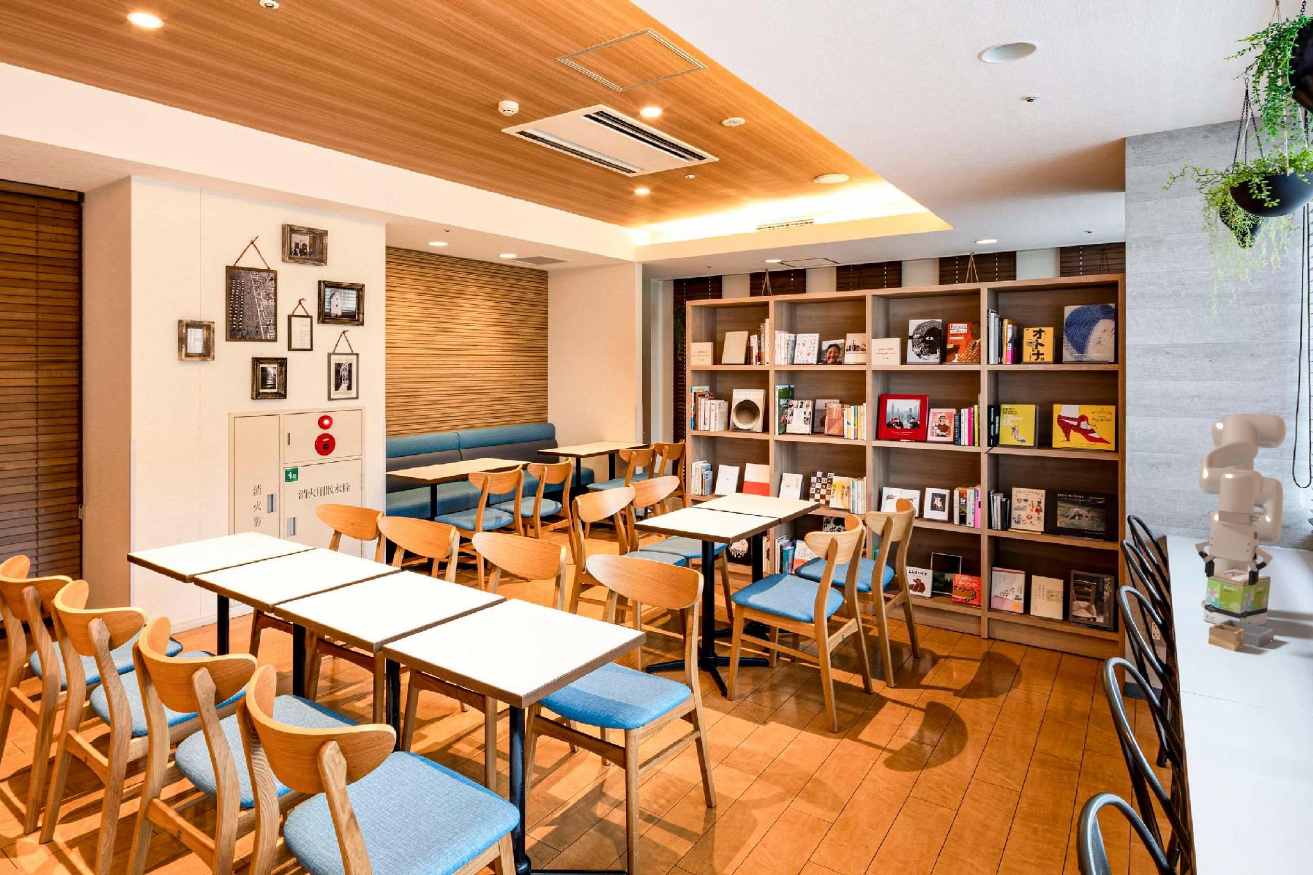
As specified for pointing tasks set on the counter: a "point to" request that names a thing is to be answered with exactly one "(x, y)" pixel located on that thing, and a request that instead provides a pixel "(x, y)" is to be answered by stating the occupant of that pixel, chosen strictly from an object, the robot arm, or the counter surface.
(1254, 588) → the tea box
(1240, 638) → the oak crate
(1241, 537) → the robot arm
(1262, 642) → the grey square tray
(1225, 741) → the counter surface
